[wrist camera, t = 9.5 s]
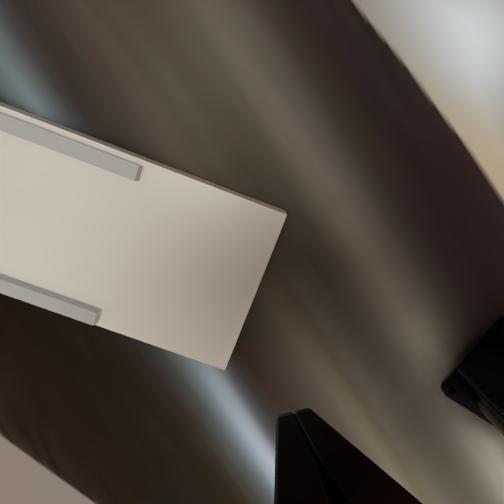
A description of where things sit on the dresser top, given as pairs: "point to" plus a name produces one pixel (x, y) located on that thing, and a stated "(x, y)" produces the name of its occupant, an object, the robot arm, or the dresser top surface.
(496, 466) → the dresser top surface
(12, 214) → the white slider track base
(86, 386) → the dresser top surface
